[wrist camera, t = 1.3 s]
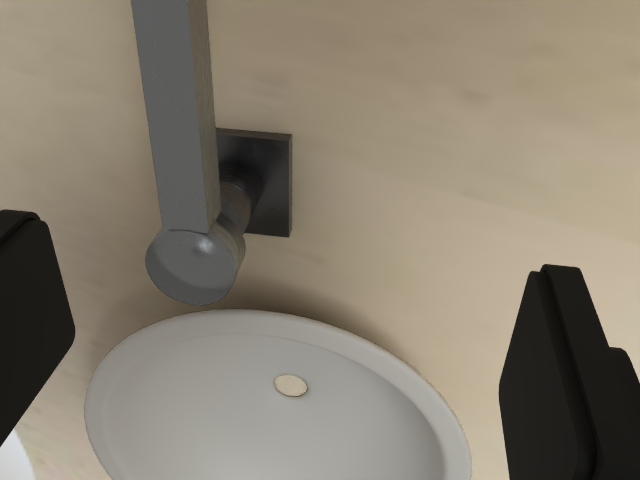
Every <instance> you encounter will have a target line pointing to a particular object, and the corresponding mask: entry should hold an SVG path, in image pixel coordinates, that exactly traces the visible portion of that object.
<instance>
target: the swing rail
mask: <svg viewBox="0 0 640 480" xmlns="http://www.w3.org/2000/svg"><path fill="white" fill-rule="evenodd" d="M131 4H132V11H133V18H134V26H135V33H136V40H137V47H138V54H139V61H140V69H141V76H142V83H143V90H144V97H145V104H146V111H147V119H148V126H149V133H150V140H151V147H152V154H153V162H154V169H155V176H156V183H157V190H158V197H159V204H160V212H161V219H162V226H163V227H162V228H161V230H160V231H159V233H158V234H157V236H156V237H155V239H154V240H153V242H152V243H151V245H150V246H149V248H148V250H147V253H146V259H145V262H146V268H147V271H148V274H149V276H150V278H151V279H152V281H153V282H154V284H155V285H156V286H157V287H158V288H159V289H160V290H161V291H162V292H164V293H165V294H166V295H168V296H170V297H171V298H173V299H175V300H177V301H180V302H183V303H187V304H192V305H207V304H211V303H214V302H217V301H219V300H220V299H222V298H223V297H224V296H226V294H227V293H228V292H229V290H230V288H231V286H232V284H233V282H234V279H235V277H236V275H237V273H238V270H239V268H240V266H241V263H242V261H243V259H244V256H245V241H244V238H243V235H242V233H241V231H240V230H239V228H238V227H237V226H236V224H235V223H234V222H233V221H232V220H231V219H230V218H228V217H227V216H226V215H224V214H223V213H221V212H220V211H221V210H222V209H221V196H220V182H219V168H218V155H217V141H216V128H215V114H214V100H213V87H212V73H211V59H210V46H209V32H208V18H207V5H206V0H131Z"/></svg>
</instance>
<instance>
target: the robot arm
mask: <svg viewBox="0 0 640 480" xmlns="http://www.w3.org/2000/svg"><path fill="white" fill-rule="evenodd" d="M74 338H75V325H74V322H73V318H72V314H71V310H70V307H69V303H68V299H67V295H66V291H65V288H64V284H63V280H62V276H61V273H60V269H59V265H58V261H57V258H56V254H55V250H54V246H53V242H52V239H51V235H50V231H49V228H48V225H47V224H46V223H45V222H44V221H41V220H40V217H39V216H38V215H37V214H36V213H33V212H26V211H16V210H1V211H0V447H1V445H2V444H3V442H4V441H5V440H6V438H7V437H8V435H9V434H10V433H11V431H12V430H13V428H14V427H15V426H16V424H17V423H18V421H19V420H20V418H21V417H22V416H23V414H24V413H25V411H26V410H27V408H28V407H29V406H30V404H31V403H32V401H33V400H34V399H35V397H36V396H37V394H38V393H39V391H40V390H41V389H42V387H43V386H44V384H45V383H46V381H47V380H48V379H49V377H50V376H51V374H52V373H53V372H54V370H55V369H56V367H57V366H58V364H59V363H60V362H61V360H62V359H63V357H64V356H65V354H66V353H67V352H68V350H69V349H70V347H71V346H72V344H73V341H74ZM499 404H500V411H501V418H502V426H503V433H504V440H505V448H506V455H507V462H508V470H509V477H510V480H640V383H639V380H638V378H637V375H636V373H635V370H634V368H633V365H632V363H631V360H630V358H629V356H628V354H627V353H626V351H624V350H623V349H622V348H614V347H609V345H608V342H607V340H606V337H605V334H604V332H603V329H602V326H601V324H600V321H599V318H598V315H597V313H596V310H595V307H594V305H593V302H592V299H591V297H590V294H589V291H588V288H587V286H586V283H585V280H584V278H583V275H582V272H581V270H580V269H579V268H577V267H569V266H559V265H549V264H545V265H543V266H542V268H541V270H540V272H536V271H531V272H530V274H529V276H528V279H527V282H526V286H525V290H524V293H523V297H522V301H521V305H520V308H519V312H518V316H517V319H516V323H515V327H514V330H513V334H512V338H511V341H510V345H509V349H508V352H507V356H506V360H505V364H504V367H503V371H502V375H501V378H500V384H499Z"/></svg>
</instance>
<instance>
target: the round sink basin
mask: <svg viewBox="0 0 640 480" xmlns="http://www.w3.org/2000/svg"><path fill="white" fill-rule="evenodd" d="M281 375H293V376H297V377H299V378H301V379H302V380H303V381H304V382H305V383H306V384H307V386H308V389H307V392H306V393H305V394H304V395H302V396H299V397H289V396H286V395H283V394H281V393H280V392H279V391H278V390H277V389H276V387H275V385H274V381H275V379H276V378H277V377H279V376H281ZM84 417H85V424H86V430H87V433H88V437H89V441H90V443H91V445H92V448H93V450H94V452H95V454H96V456H97V458H98V460H99V462H100V463H101V465H102V466H103V468H104V469H105V471H106V472H107V474H108V475H109V476H110V477H111V479H112V480H471V475H472V462H471V454H470V449H469V445H468V442H467V439H466V436H465V433H464V431H463V428H462V426H461V424H460V422H459V420H458V419H457V417H456V415H455V413H454V412H453V410H452V409H451V407H450V406H449V404H448V403H447V402H446V400H445V399H444V398H443V397H442V396H441V394H440V393H439V392H438V391H437V390H436V389H435V388H434V387H433V386H432V385H431V384H430V383H429V382H428V381H427V380H426V379H425V378H424V377H423V376H422V375H421V374H419V373H418V372H417V371H416V370H414V369H413V368H412V367H411V366H409V365H408V364H407V363H405V362H404V361H402V360H401V359H399V358H398V357H396V356H395V355H393V354H392V353H390V352H389V351H387V350H385V349H383V348H382V347H380V346H378V345H376V344H374V343H372V342H371V341H369V340H366V339H364V338H362V337H360V336H357V335H355V334H353V333H351V332H349V331H346V330H343V329H340V328H338V327H335V326H332V325H329V324H326V323H323V322H320V321H317V320H313V319H310V318H306V317H301V316H296V315H291V314H285V313H279V312H271V311H263V310H248V309H220V310H208V311H199V312H193V313H188V314H183V315H178V316H174V317H171V318H168V319H165V320H161V321H158V322H156V323H154V324H151V325H149V326H147V327H144V328H142V329H140V330H139V331H137V332H135V333H133V334H132V335H130V336H128V337H127V338H126V339H124V340H123V341H122V342H120V343H119V344H118V345H116V346H115V347H114V348H113V349H112V350H111V351H110V352H109V353H108V354H107V355H106V356H105V357H104V359H103V360H102V361H101V363H100V364H99V365H98V367H97V368H96V370H95V372H94V374H93V376H92V378H91V380H90V383H89V386H88V389H87V393H86V399H85V416H84Z"/></svg>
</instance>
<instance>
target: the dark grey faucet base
mask: <svg viewBox="0 0 640 480" xmlns="http://www.w3.org/2000/svg"><path fill="white" fill-rule="evenodd" d="M216 141H217V155H218V168H219V182H220V196H221V209H222V210H221V211H220V212H221V213H223V214H224V215H226V216H227V217H228V218H230V219H231V220H232V221H233V222H234V223H235V224H236V226H237V227H238V228H239V230H240V231H241V233H242V235H243V234H244V233H252V234H262V235H271V236H280V237H289V236H290V233H291V230H292V135H290V134H279V133H268V132H256V131H245V130H234V129H223V128H216Z"/></svg>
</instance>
